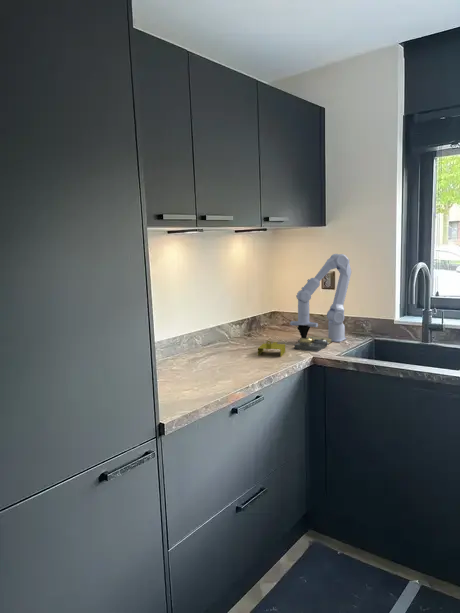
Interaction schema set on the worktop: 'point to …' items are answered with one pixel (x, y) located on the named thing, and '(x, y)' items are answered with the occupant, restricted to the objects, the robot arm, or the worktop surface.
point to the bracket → (271, 347)
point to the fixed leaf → (312, 345)
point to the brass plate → (311, 339)
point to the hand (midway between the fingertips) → (303, 340)
